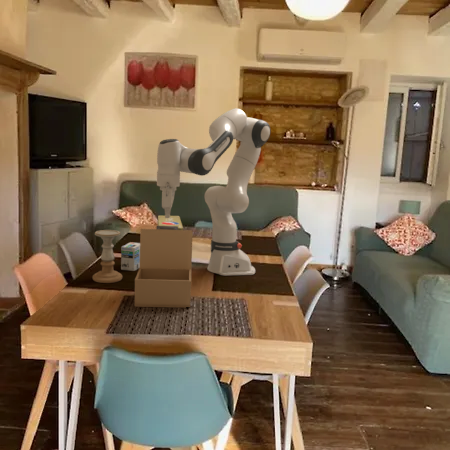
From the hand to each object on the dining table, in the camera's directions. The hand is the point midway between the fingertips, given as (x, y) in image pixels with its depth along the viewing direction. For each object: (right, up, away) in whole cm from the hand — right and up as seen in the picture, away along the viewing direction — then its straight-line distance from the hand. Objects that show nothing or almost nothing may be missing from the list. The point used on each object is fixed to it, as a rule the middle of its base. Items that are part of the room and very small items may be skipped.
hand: (167, 216), depth 182 cm
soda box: (-10, -14, +86) cm, 88 cm away
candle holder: (-27, -26, +14) cm, 40 cm away
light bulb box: (-20, -23, +32) cm, 45 cm away
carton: (-1, -32, -8) cm, 32 cm away
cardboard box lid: (0, -12, -3) cm, 13 cm away
